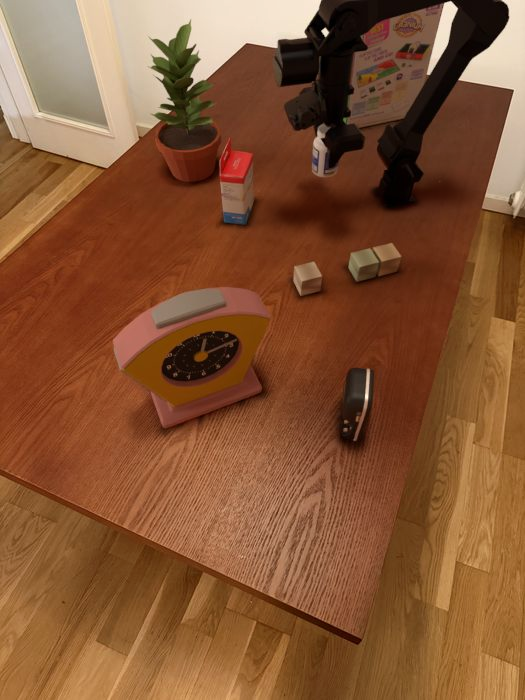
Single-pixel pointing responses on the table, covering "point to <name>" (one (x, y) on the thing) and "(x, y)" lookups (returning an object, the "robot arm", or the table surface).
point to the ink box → (236, 185)
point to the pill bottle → (322, 156)
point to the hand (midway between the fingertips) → (326, 159)
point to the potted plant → (185, 113)
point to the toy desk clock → (195, 351)
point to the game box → (392, 67)
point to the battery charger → (356, 402)
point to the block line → (351, 267)
